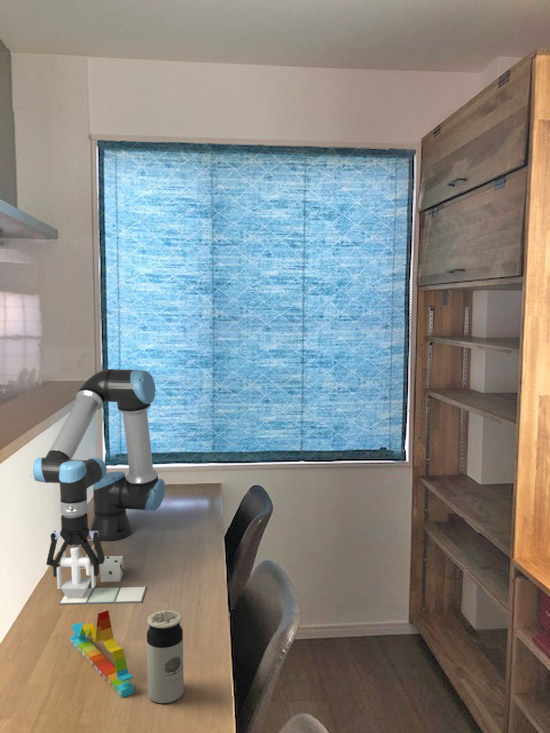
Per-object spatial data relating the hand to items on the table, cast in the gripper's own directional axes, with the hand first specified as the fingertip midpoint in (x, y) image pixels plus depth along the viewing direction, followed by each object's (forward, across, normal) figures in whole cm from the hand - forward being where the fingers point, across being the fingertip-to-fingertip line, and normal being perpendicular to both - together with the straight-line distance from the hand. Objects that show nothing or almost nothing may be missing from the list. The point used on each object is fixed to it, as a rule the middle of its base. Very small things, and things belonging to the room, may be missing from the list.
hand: (76, 586), depth 195 cm
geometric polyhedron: (+4, -2, +24) cm, 24 cm away
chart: (+4, +15, -38) cm, 41 cm away
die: (+3, +8, +13) cm, 15 cm away
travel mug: (+3, +32, -50) cm, 59 cm away
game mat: (+3, +8, 0) cm, 9 cm away
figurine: (+3, 0, 0) cm, 3 cm away
